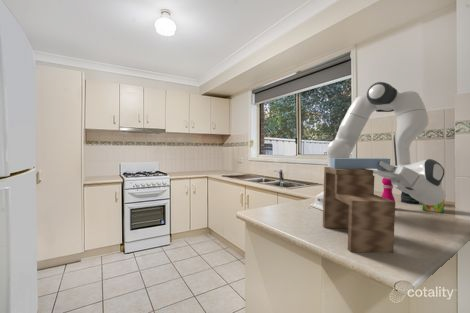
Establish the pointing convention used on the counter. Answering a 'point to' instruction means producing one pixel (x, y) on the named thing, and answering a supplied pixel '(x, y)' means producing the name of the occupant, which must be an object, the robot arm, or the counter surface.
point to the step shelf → (358, 210)
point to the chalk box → (434, 207)
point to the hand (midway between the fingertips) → (375, 162)
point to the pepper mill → (387, 189)
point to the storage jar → (408, 199)
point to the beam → (357, 163)
